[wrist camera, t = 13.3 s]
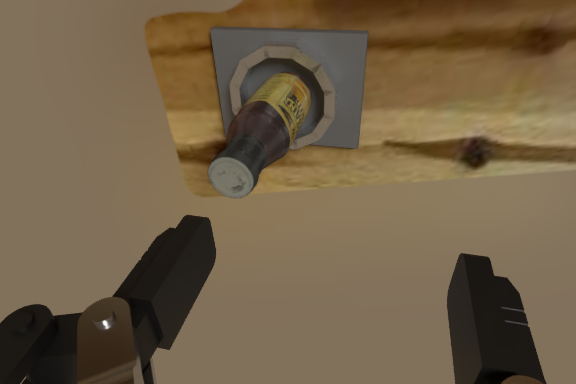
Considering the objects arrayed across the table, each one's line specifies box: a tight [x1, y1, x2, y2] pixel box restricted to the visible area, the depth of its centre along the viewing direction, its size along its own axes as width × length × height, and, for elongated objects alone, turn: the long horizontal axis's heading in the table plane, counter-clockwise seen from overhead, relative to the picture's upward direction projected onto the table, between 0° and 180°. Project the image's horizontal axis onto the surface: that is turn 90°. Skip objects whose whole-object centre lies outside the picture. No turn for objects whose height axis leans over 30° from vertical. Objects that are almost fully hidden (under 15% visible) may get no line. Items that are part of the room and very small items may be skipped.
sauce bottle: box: [208, 71, 312, 198], centre depth 39 cm, size 6×6×20 cm
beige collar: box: [229, 38, 339, 150], centre depth 46 cm, size 12×12×3 cm
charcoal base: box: [210, 27, 368, 149], centre depth 48 cm, size 18×14×1 cm
